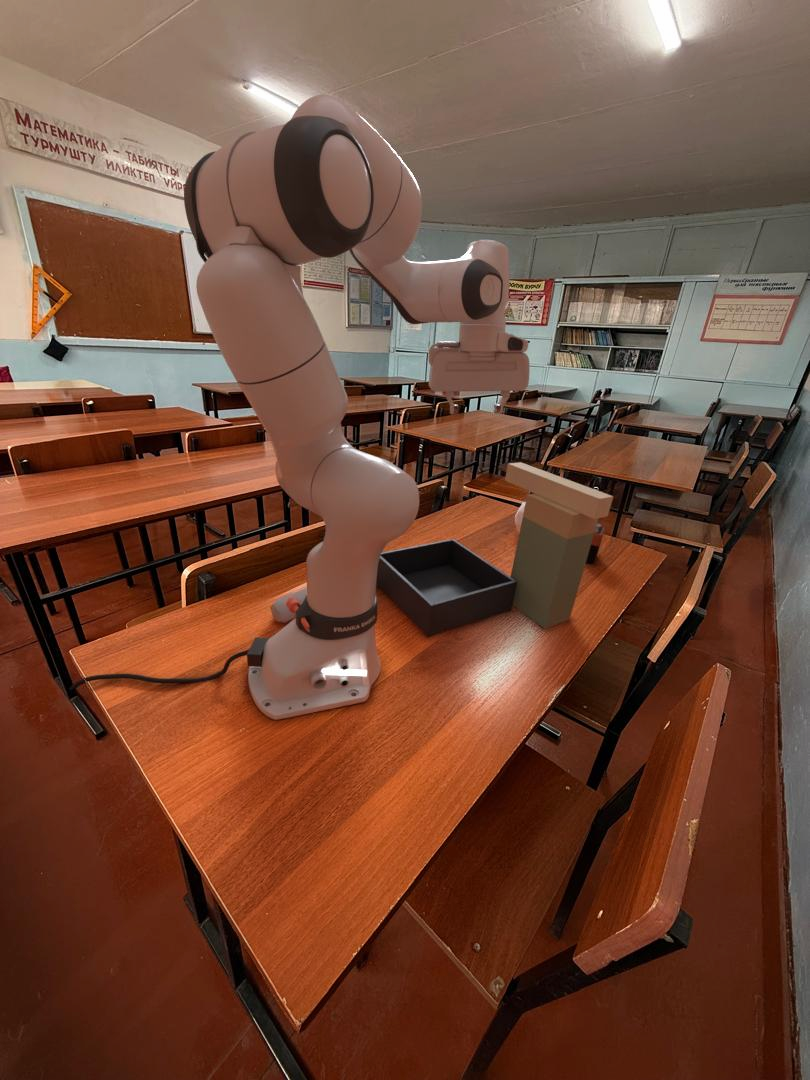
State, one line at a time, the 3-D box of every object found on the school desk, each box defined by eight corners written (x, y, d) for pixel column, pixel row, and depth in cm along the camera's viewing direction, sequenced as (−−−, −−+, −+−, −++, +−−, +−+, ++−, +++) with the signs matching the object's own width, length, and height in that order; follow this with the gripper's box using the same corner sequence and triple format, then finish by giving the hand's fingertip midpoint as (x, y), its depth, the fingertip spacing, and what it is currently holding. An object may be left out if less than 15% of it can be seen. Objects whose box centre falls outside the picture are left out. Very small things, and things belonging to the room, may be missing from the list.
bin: (427, 637, 87) (431, 605, 83) (373, 581, 105) (375, 553, 101) (511, 610, 98) (517, 581, 94) (449, 564, 116) (453, 538, 112)
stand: (544, 628, 92) (573, 514, 81) (505, 600, 101) (527, 494, 90) (569, 619, 96) (600, 509, 85) (530, 592, 105) (553, 490, 94)
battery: (597, 556, 127) (606, 524, 123) (593, 564, 122) (603, 532, 117) (581, 551, 129) (590, 520, 125) (577, 560, 123) (586, 528, 119)
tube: (281, 615, 83) (379, 574, 99) (267, 596, 85) (365, 559, 102) (278, 632, 86) (373, 590, 103) (264, 613, 89) (360, 575, 105)
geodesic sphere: (557, 541, 120) (570, 493, 122) (506, 529, 125) (520, 483, 127) (556, 554, 133) (568, 511, 136) (510, 542, 139) (522, 501, 141)
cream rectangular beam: (594, 519, 80) (599, 498, 78) (504, 480, 98) (507, 463, 97) (607, 516, 82) (613, 496, 80) (517, 479, 100) (520, 462, 98)
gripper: (431, 341, 82) (429, 416, 88) (536, 341, 84) (527, 415, 90) (426, 340, 88) (425, 411, 94) (525, 341, 89) (517, 410, 95)
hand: (476, 413), depth 92 cm, fingers open, 8 cm apart
